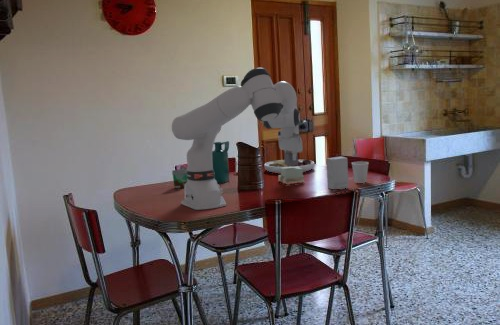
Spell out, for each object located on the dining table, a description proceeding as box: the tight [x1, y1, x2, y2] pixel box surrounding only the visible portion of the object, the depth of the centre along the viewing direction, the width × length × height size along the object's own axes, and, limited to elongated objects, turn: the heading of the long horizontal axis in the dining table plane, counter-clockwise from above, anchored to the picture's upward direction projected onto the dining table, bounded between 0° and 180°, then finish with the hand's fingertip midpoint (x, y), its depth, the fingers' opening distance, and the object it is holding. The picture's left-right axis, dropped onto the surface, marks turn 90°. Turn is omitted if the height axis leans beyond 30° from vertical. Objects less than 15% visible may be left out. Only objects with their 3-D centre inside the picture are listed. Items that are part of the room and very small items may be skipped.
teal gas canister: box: [212, 140, 230, 184], centre depth 239 cm, size 10×8×22 cm
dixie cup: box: [351, 161, 370, 183], centre depth 218 cm, size 8×8×10 cm
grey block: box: [284, 151, 299, 166], centre depth 225 cm, size 5×5×6 cm
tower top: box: [280, 166, 304, 178], centre depth 226 cm, size 9×9×4 cm
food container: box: [171, 166, 188, 190], centre depth 229 cm, size 12×6×10 cm, turn 168°
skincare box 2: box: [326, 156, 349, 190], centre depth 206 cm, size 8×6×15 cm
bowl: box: [264, 158, 315, 173], centre depth 265 cm, size 30×30×8 cm
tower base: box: [277, 174, 305, 184], centre depth 227 cm, size 10×10×4 cm
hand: (291, 159), depth 225 cm, fingers closed on grey block, 5 cm apart
